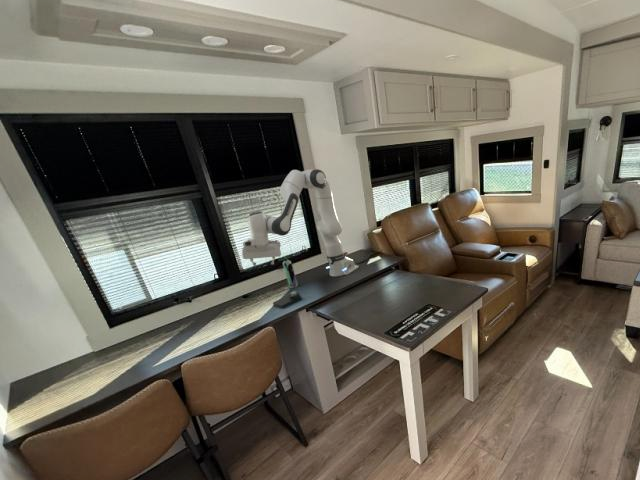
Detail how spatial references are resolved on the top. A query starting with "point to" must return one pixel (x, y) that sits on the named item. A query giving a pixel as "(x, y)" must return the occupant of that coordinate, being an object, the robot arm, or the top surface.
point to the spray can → (290, 273)
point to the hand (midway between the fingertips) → (263, 265)
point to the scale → (287, 301)
